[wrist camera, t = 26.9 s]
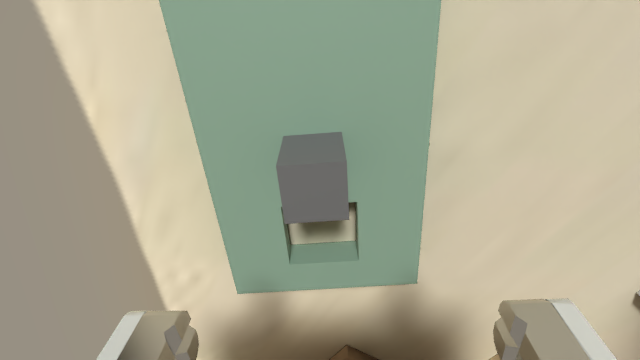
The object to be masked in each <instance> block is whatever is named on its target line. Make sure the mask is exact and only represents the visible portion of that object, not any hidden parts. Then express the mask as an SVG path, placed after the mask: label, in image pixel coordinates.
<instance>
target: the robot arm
mask: <svg viewBox="0 0 640 360" xmlns="http://www.w3.org/2000/svg"><path fill="white" fill-rule="evenodd" d="M498 311H499V313H500V315H501V318H500V319H499V320H497V321H496V322H495V325H494V329H493V335H494V343H495V347H496V350H497V353H498V355H499V358H500V360H617V359H616V357H615V356H614V355H613V354H612V352H611V351H610V350H609V348H608V347H607V346H606V344H605V343H604V342H603V340H602V339H601V338H600V337H599V335H598V334H597V333H596V331H595V330H594V329H593V327H592V326H591V325H590V324H589V322H588V321H587V320H586V318H585V317H584V316H583V314H582V313H581V312H580V310H579V309H578V308H577V307H576V305H575V304H574V303H573V302H572V301H571V300H569V299H545V300H544V299H529V300H506V301H502V302H501V303H500V306H499V309H498ZM190 320H191V318H190V316H189V314H188V311H130V312H128V313H127V314H126V315H125V316H124V317H123V318H122V320H121V321H120V323H119V324H118V326H117V328H116V329H115V331H114V332H113V334H112V335H111V337H110V339H109V340H108V342H107V343H106V345H105V346H104V348H103V350H102V351H101V353H100V355H99V356H98V358H97V359H96V360H196V358H197V354H198V347H199V341H198V335H197V332H196V330H195V329H194V328H192V327H191V326H189V323H190Z"/></svg>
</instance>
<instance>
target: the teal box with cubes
mask: <svg viewBox="0 0 640 360" xmlns="http://www.w3.org/2000/svg"><path fill="white" fill-rule="evenodd" d="M159 2H160V6H161V10H162V13H163V17H164V21H165V25H166V28H167V32H168V36H169V40H170V43H171V47H172V51H173V55H174V58H175V62H176V66H177V69H178V73H179V77H180V81H181V84H182V88H183V92H184V96H185V99H186V103H187V107H188V111H189V114H190V118H191V122H192V125H193V129H194V133H195V137H196V140H197V144H198V148H199V152H200V155H201V159H202V163H203V167H204V170H205V174H206V178H207V181H208V185H209V189H210V193H211V196H212V200H213V204H214V208H215V211H216V215H217V219H218V223H219V226H220V230H221V234H222V237H223V241H224V245H225V249H226V252H227V256H228V260H229V264H230V267H231V271H232V275H233V278H234V282H235V286H236V290H237V293H238V294H244V293H262V292H279V291H296V290H313V289H331V288H348V287H365V286H382V285H400V284H417V278H418V266H419V254H420V242H421V231H422V219H423V207H424V196H425V184H426V172H427V160H428V149H429V137H430V125H431V114H432V102H433V90H434V78H435V67H436V55H437V43H438V32H439V20H440V8H441V0H159ZM349 202H356V233H357V241H345V242H329V243H313V244H297V245H290V242H289V235H288V228H287V224H291V223H306V222H322V221H337V220H349Z"/></svg>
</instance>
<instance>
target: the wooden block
mask: <svg viewBox="0 0 640 360" xmlns="http://www.w3.org/2000/svg"><path fill="white" fill-rule="evenodd" d="M489 360H500V358H499V355H498V354H497V355H495V356H494V357H492V358H491V359H489Z"/></svg>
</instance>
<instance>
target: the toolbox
mask: <svg viewBox="0 0 640 360" xmlns="http://www.w3.org/2000/svg"><path fill="white" fill-rule="evenodd" d="M330 360H378V359H376V358H374V357H371V356H369V355H367V354H365V353H363V352H361V351H359V350H357V349H354V348H352V347H350V346H348V345H346V346H345V347H344V348H343V349H342V350H340V351H339V352H338V353H337V354H336V355H335V356H333V357H332V358H331V359H330Z"/></svg>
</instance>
